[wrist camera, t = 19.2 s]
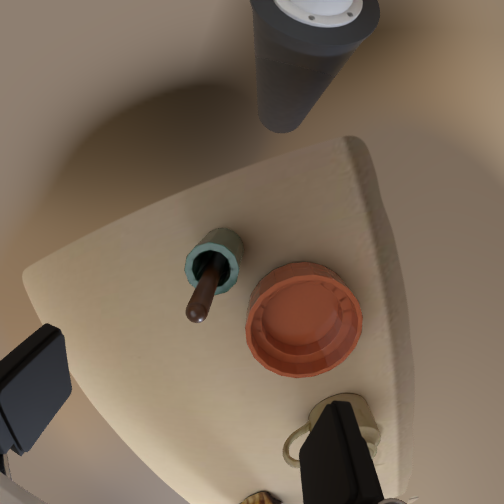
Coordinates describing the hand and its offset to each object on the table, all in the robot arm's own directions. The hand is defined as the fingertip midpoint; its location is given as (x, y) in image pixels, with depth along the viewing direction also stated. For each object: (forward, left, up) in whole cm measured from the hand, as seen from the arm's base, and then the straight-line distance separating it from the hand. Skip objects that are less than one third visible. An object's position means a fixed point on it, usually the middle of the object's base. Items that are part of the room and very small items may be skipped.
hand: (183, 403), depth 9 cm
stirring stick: (+2, -2, -29) cm, 29 cm away
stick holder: (+2, -2, -30) cm, 30 cm away
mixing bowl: (+8, +10, -30) cm, 32 cm away
